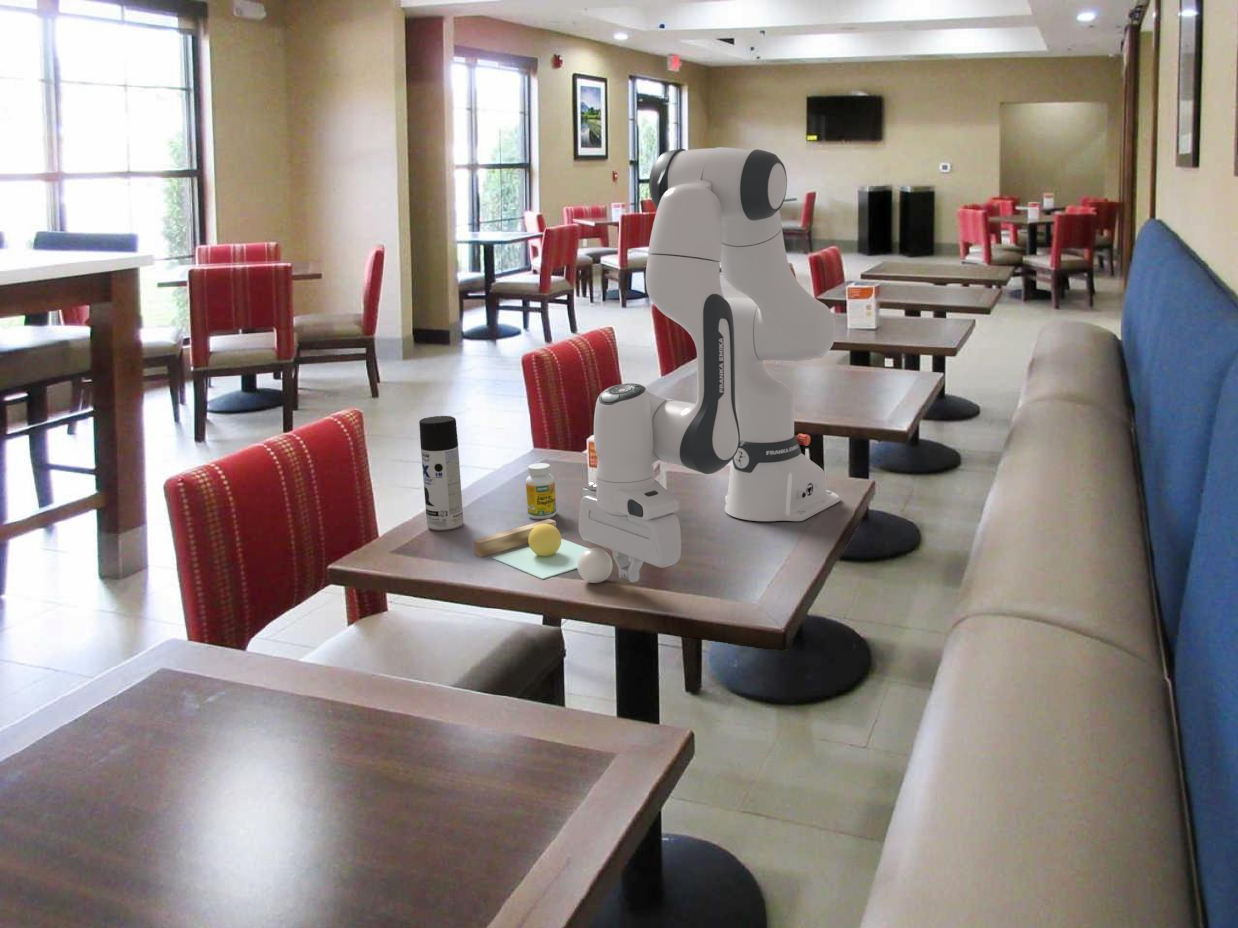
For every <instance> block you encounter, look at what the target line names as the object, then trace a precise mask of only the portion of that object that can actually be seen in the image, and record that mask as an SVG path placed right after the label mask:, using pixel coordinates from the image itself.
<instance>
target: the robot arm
mask: <svg viewBox="0 0 1238 928" xmlns="http://www.w3.org/2000/svg"><path fill="white" fill-rule="evenodd" d="M785 167H786V166H785V165H784V163H783V162H782V160H781V159H780V158H779V157H778V155H777V154H775V153H773V152H769V151H766V150H762V149H758V148H757V149H754V150H750V149H744V148H736V147H721V146H719V147H713V148H711V147H708V148H694V149H684V148H676V149H673V150H668V151H664V152H663V153H662V154H660V156H659V157H658V158H657V159H656V160H655V162H654V163H653V165H652V167H651V169H650V173H649V181H648V183H649V184H648V189H649V195H650V199H651V201H652V202H653V205H654V207H655V208H656V212H655V215H654V220H653V223H652V229H651V232H650V239H649V245H648V251H647V258H646V259H647V261H646V269H645V286H646V287H645V289H646V293H647V295H648V297H649V299H650V301H651V302H652V304H653V305H654V306H655V307H656V308H657V310H658V311H659V312H661V314H662V315H664V316H666V317H667V318H668V319H671V321H673V322H675V323H676V324H678V325H680V326H681V327H682V328H683V329H684V330H685V331H686V332H687V333H688V334H689V335H690V337H691V339H692V341H693V342H694V345H695V350H696V381H697V382H696V383H697V384H696V390H697V391H696V392H697V395H696V396H697V397H696V403H694V402H689V401H682V400H681V401H680V400H679V399H678V400H677V399H673V398H667V397H663V396H660V395H658V394H654V393H652V392H650V391H649V390H648V389H647V387H645V386H644V385H642V384H639V383H631V382H630V383H623V384H616V385H612V386H609V387H608V388H605V389H604V390H602V391H601V393H599V395H598V396H597V398H596V402H595V408H594V415H593V417H594V418H593V441H594V442H593V443H594V444H593V445H594V450H595V453H596V458H597V466H596V470H595V482H588V483H587V484H586V485H584V486H583V488H582V490H581V494H582V495H581V496H582V497H581V499H580V503H579V509H578V510H579V511H578V513H579V514H578V532H579V535H580V538H581V539H582V540H584V541H586V542H589V543H592V544H595V545H597V546H600V547H603V548H606V549H609V550H611V551H612V553H611V554H612V555H611V556H612V557H613V560H614V562H615V564H616V566H617V569H618V577H619V578H620V579H622V580H624V581H627V582H631V583H636V582H638V581H640V578H641V577H640V570H641V568H642V566H643V564H644V562H645V563H647V564H650V565H651V566H652V565H653V566H655V567H658V568H661V569H663V568H666V567H670V566H672V565H675V564H676V563H678V562H679V560H680V559H681V555H682V537H681V535H682V534H681V526H680V525H681V524H680V521H679V518H678V516H677V515H676V514H675V513H676V512H678V511H679V509H680V500H679V498H678V497H677V496H676V495H674V494H673V493H672V492H670V491H669V490H668V489H666V488H665V487H664V486H663V485H662V484H661V483H660V482H659V481H658V480H656V477H655V467H654V465H653V464H654V463H655V462H657V461H660V462H663V463H668V464H672V465H677V466H681V467H685V468H687V469H690V470H692V471H695V472H698V473H701V474H703V475H711V474H714V473H717V472H719V471H720V470H722V469H723V468H725V467H726V466H727V465H728V464H729V463H730V466H729V475H728V488H727V489H728V490H727V494H725V497H724V502H725V506H724V512H725V513H726V514H728V515H729V516H731V517H732V518H733V517H734V518H736V519H740V520H746V521H754V522H777V521H779V522H780V521H788V522H802V521H805V520H807V519H809V518H810V517H813V516H815V515H816V514H818V513H820V512H822V511H824V510H826V509H828V508H829V507H831V506H834V505H835V504H837V503H839V502H840V496H839V495H838V494H837V493H836V492H833V491H831V490H828V489H827V486H828V485H827V476H826V473H825V471H824V470H823V468H821V466H819V465H818V464H817V463H815V462H814V461H812V460H811V459H809V458H808V457H807V456H806V455H805V454H803V453H802V450H801V447H800V445H803V446H804V447H805V446H806V447H807V446H809V445H810V443H811V439H812V438H811V436H810V435H809V434H803V433H798V434H797V435H796V434H795V397H794V394H793V393H792V391H791V389H790V388H789V387H788V386H787V385H786V384H785V383H784V382H782V381H780V380H779V379H776V378H775V377H773V376H772V375H771V374H770V373H769V372H768V371H767V369H766V368H765V365H764V363H763V362H764V361H765V362H767V361H768V362H790V363H791V362H792V363H797V362H798V363H799V362H804V361H812V360H816V359H822V358H823V357H824V356H826V355H827V354H828V353H829V351H830V350H831V349H832V347H833V346H834V343H835V340H836V336H837V335H836V334H837V324H836V320H835V317H834V315H833V312H832V311H831V309H830V308H829V306H827V305H826V304H825V303H824V302H822V301H820V300H818V299H817V298H815V297H814V296H813V295H812V294H810V293H809V292H808V291H806V289H805V288H804V287H803V286H802V285H801V283H800V282H799V281H798V279H797V278H796V276H795V275H794V273H793V271H792V270H791V269H792V268H791V267H790V264H789V260H788V256H787V251H786V247H785V240H784V239H785V238H784V234H783V233H784V231H783V226H782V218H781V212H780V209H781V208H782V206H783V204H784V202H785V199H786V195H787V190H788V189H787V188H788V178H787V171H786V168H785ZM720 270H721V273H722V276H723V278H724V279H725V281H726V282H727V284H729V286H730V287H731V288H734V290H736V291H739V292H740V293H741V294H744V295H745V296H747V297H724V293H723V290H722V287H721V280H720V279H721V276H720Z"/></svg>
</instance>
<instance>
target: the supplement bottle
mask: <svg viewBox="0 0 1238 928" xmlns="http://www.w3.org/2000/svg"><path fill="white" fill-rule="evenodd" d="M527 467H528V476H527V477H526V479H525V490H526V493H525V494H526V503H527V515H528V517H529V518H531V519H534V520H547V519H551V518H553V517H554V516H556V514H557V497H556V484H555V483H556V482H555V477H554V476H553V475H552V474H551V465H550V464H549V463H546V462H538V463H532V464H530V465H528V466H527Z"/></svg>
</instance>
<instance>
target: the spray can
mask: <svg viewBox="0 0 1238 928" xmlns="http://www.w3.org/2000/svg"><path fill="white" fill-rule="evenodd" d="M418 423H419V439H420V440H419V442H420V455H421V456H420V457H421V466H422V477H423V481H422V482H423V490H424V503H425V514H426V515H425V516H426V525H427V527H428V528H429V530H432V531H434V532H448V531H449V532H450V531H453V530H458V529H459V528H461V527H462V526H463V525H464V511H463V497H462V496H463V494H462V483H461V482H462V480H461V470H460V469H461V468H460V453H459V452H460V451H459V441H458V429H457V420H456V418H455V417H453V416H451V415H436V416H428V417H423V418H421V419H420V420H419V422H418Z"/></svg>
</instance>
